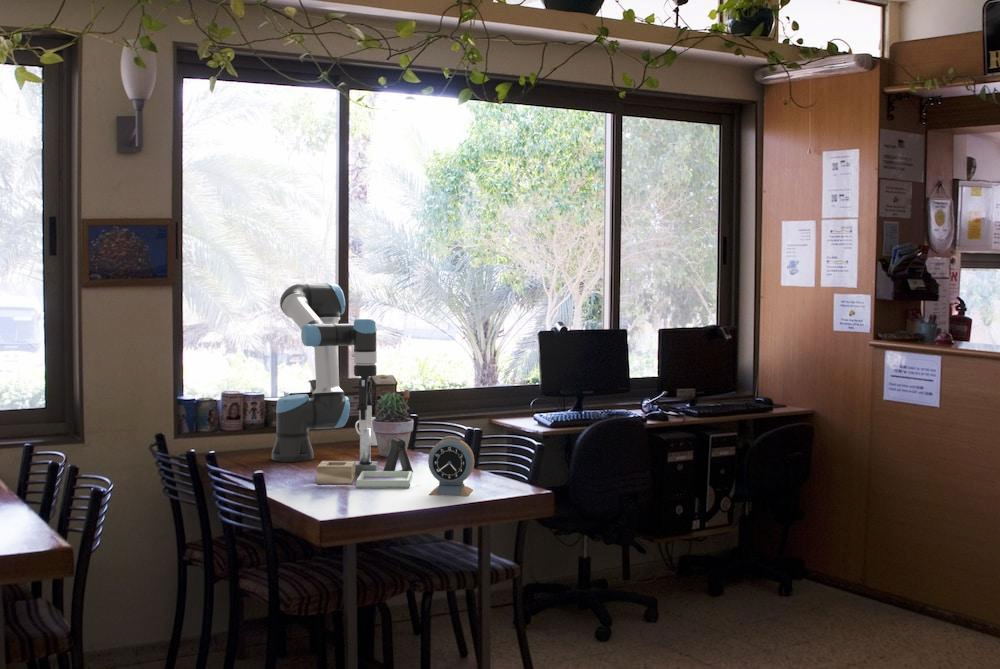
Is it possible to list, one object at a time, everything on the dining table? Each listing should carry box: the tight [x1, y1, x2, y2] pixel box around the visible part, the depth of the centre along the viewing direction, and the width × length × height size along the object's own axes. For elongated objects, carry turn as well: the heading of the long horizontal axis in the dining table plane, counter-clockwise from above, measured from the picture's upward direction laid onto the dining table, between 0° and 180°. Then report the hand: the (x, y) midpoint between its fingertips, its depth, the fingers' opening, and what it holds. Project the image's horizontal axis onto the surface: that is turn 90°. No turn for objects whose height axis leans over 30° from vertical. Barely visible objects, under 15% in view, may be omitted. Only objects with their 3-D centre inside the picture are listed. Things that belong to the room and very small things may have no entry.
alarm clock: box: [427, 435, 475, 497], centre depth 344 cm, size 14×10×18 cm
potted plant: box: [372, 389, 415, 458], centre depth 415 cm, size 18×20×25 cm
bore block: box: [316, 460, 356, 486], centre depth 360 cm, size 11×11×6 cm
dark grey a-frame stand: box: [382, 438, 414, 473], centre depth 375 cm, size 9×6×12 cm, turn 115°
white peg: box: [359, 428, 372, 464], centre depth 373 cm, size 4×4×15 cm
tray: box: [356, 470, 413, 489], centre depth 359 cm, size 17×17×2 cm
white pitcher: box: [354, 417, 378, 447], centre depth 440 cm, size 12×8×10 cm, turn 110°
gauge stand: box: [354, 460, 379, 476], centre depth 373 cm, size 8×8×4 cm
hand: (365, 427), depth 372 cm, fingers open, 13 cm apart
